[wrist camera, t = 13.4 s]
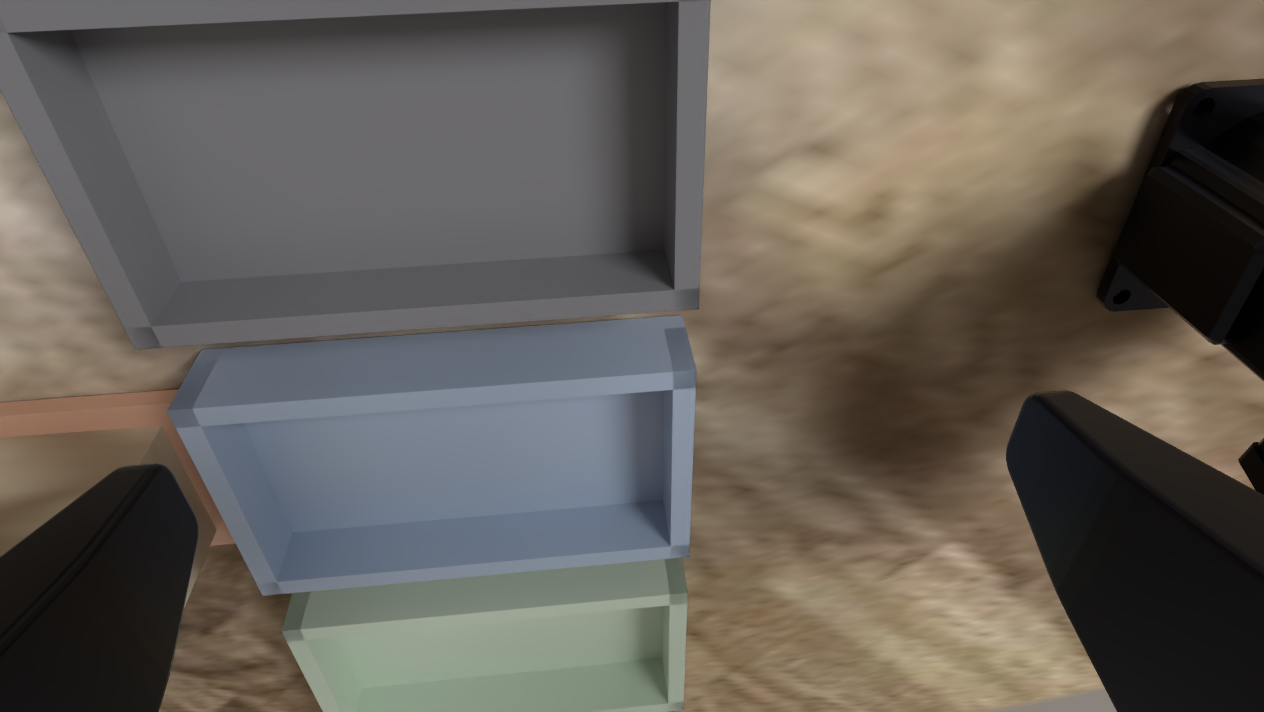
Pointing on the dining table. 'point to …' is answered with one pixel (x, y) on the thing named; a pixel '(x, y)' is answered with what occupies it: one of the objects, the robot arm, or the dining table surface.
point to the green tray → (499, 642)
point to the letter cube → (82, 477)
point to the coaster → (106, 416)
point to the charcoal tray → (368, 158)
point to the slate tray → (447, 451)
